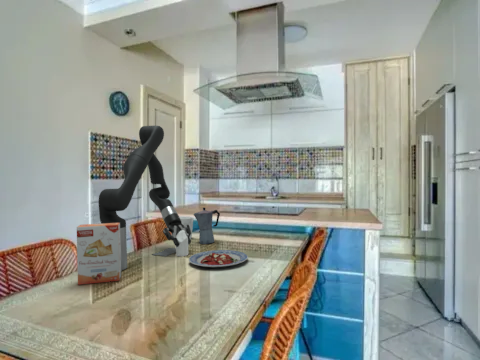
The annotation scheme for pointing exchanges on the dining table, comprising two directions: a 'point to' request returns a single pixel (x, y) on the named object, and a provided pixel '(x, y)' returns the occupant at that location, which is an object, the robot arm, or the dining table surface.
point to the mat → (166, 252)
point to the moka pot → (206, 225)
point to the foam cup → (187, 222)
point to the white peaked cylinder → (182, 244)
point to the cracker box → (98, 253)
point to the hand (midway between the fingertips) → (183, 244)
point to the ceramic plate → (218, 258)
